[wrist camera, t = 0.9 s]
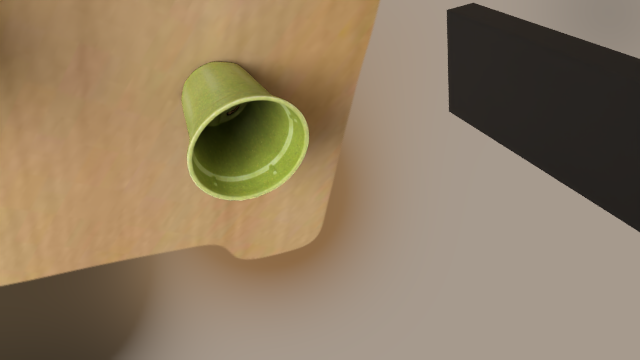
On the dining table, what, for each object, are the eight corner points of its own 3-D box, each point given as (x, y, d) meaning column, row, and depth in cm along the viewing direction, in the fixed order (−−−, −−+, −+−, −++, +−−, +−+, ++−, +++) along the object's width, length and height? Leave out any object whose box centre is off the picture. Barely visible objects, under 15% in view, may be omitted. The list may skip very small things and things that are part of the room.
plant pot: (206, 157, 52) (237, 219, 46) (134, 93, 45) (160, 157, 40) (287, 92, 52) (329, 147, 46) (227, 17, 45) (267, 71, 39)
